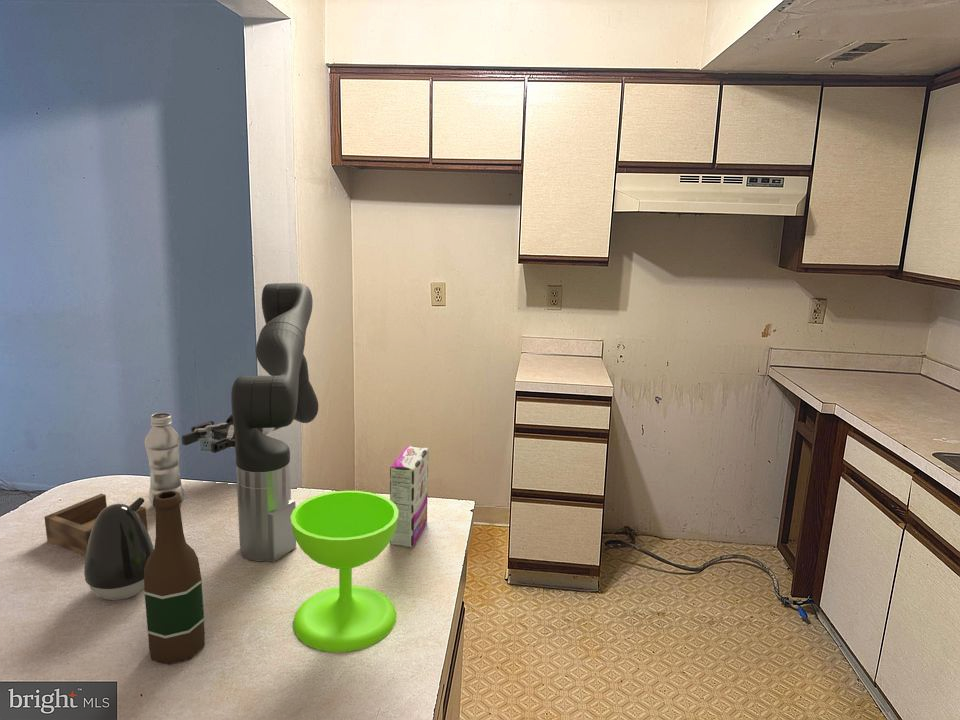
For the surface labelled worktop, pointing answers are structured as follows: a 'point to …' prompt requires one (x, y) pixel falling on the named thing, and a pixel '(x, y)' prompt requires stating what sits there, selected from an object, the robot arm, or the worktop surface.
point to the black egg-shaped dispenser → (117, 552)
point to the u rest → (78, 523)
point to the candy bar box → (409, 494)
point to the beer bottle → (173, 588)
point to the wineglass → (344, 568)
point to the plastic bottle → (163, 456)
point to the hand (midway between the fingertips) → (197, 444)
